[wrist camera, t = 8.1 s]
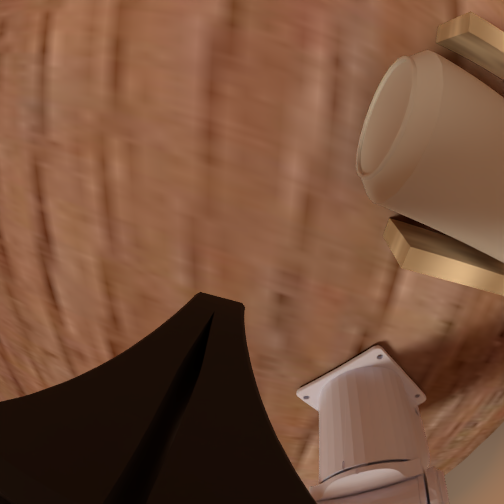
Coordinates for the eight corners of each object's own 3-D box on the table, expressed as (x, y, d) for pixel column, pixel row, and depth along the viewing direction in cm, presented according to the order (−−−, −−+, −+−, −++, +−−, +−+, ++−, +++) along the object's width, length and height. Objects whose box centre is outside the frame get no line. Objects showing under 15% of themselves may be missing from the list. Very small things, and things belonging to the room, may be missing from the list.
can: (388, 44, 13) (539, 142, 13) (342, 164, 17) (492, 234, 17) (442, 34, 7) (612, 190, 7) (361, 228, 11) (543, 307, 11)
